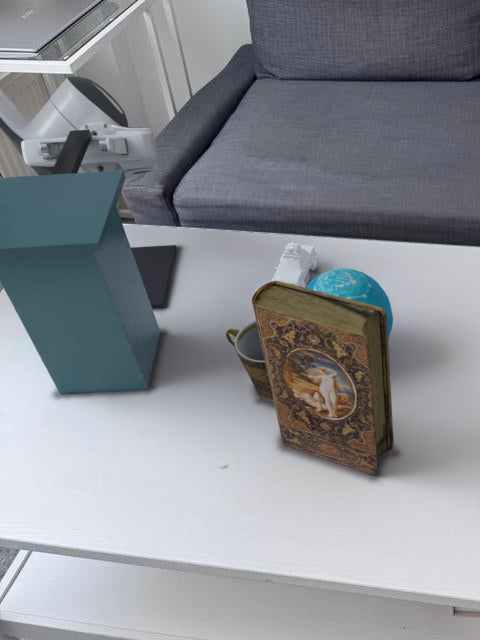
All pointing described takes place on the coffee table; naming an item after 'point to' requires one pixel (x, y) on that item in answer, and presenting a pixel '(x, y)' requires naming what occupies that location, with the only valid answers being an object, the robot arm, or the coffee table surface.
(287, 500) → the coffee table surface
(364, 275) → the decorative orb
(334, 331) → the book
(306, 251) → the toy car
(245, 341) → the ceramic cup
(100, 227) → the lid
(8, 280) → the bin
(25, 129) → the robot arm
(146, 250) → the mat
